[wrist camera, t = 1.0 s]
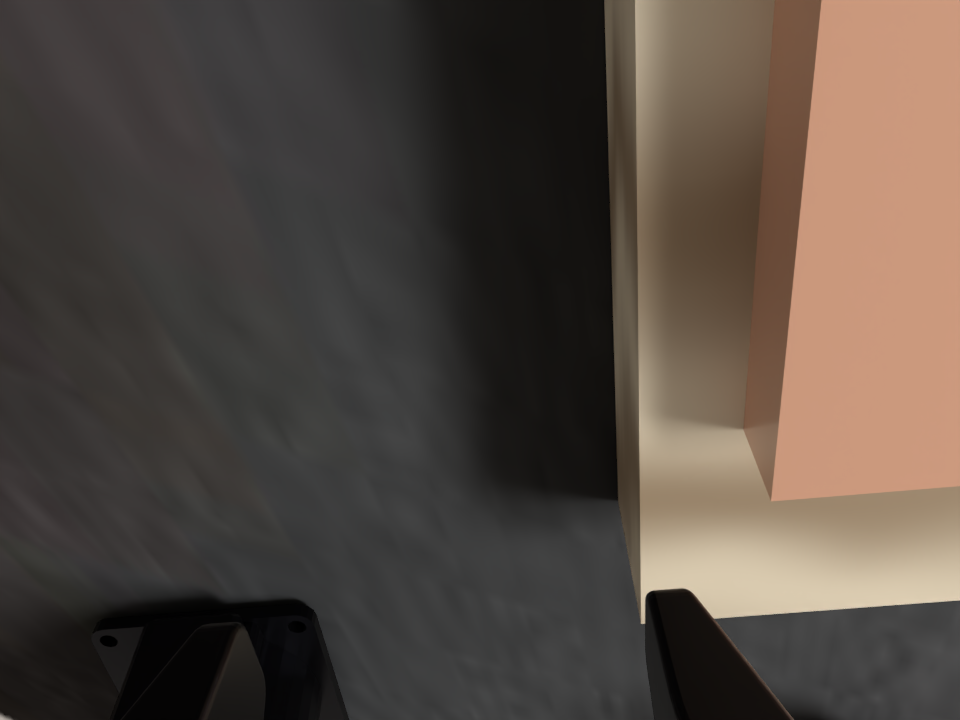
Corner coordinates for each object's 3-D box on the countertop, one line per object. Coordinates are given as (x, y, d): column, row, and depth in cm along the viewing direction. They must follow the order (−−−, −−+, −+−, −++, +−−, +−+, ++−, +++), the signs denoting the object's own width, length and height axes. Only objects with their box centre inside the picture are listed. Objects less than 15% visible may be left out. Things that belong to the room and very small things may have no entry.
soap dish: (1086, 463, 24) (1186, 583, 20) (618, 502, 24) (641, 623, 21) (1488, -665, 12) (1858, -807, 9) (589, -536, 13) (628, -626, 10)
